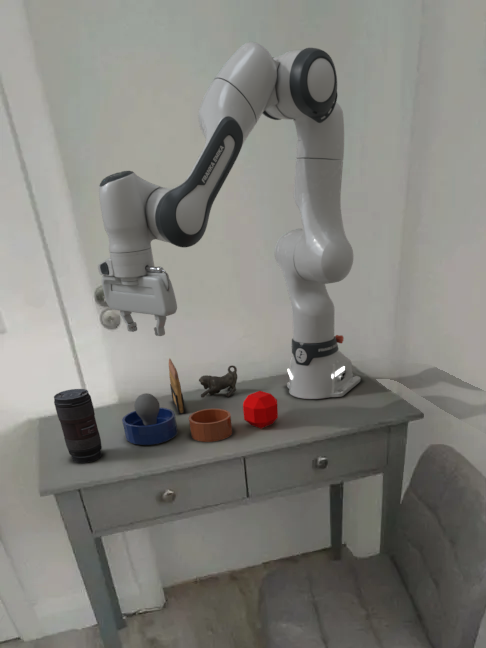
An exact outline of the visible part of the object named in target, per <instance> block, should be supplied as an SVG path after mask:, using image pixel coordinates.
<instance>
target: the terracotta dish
mask: <svg viewBox="0 0 486 648" xmlns="http://www.w3.org/2000/svg"><path fill="white" fill-rule="evenodd" d="M188 425H189V432H190V436H191V438H192V439H193V440H194V441H197V442H202V443H213V442H218V441H222V440H226V439H227V438H229V437H231V435H232V434H233V422H232V414H231V412H230V411H228V410H226V409H223V408H204V409H200V410H197V411H194V412H192V413H191V414H189V416H188Z"/></svg>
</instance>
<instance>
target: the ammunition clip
mask: <svg viewBox="0 0 486 648" xmlns="http://www.w3.org/2000/svg"><path fill="white" fill-rule="evenodd" d="M168 369H169V370H168V372H169V373H168V375H169V376H168V377H169V382H170V383H169V385H170V392H171V393H170V394H171V399H172V400H171V401H172V403H173V406H174V408H175V410H176V412H177V414H178V415H182V414H186V408H185V401H184V395H183V392H182V387H181V382H180V378H179V374H178V369H177V368H176V366H175V364H174V362H173V360H172V359H171V358H170V357H169V358H168Z"/></svg>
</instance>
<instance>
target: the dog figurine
mask: <svg viewBox="0 0 486 648" xmlns="http://www.w3.org/2000/svg"><path fill="white" fill-rule="evenodd" d="M231 368H233V371H232V370H231ZM198 382H199V384H200V385H201V386H203V389H204V390H205V391H203V393H201V394H200V398H202V399H203V398H205V396H207V395H208V396H213V395H217V394H220V393H221V391H222V390H226V391H228V392H226V394H225V396H226V397H230V396H232V395H233V394H235V392H237V387H236V384H237V382H238V369H237V366H235V365H229V366H228V367H227V373H226V374H224V375H222V376H217V375H207V374H206V375H201V377H200V378H199V379H198Z"/></svg>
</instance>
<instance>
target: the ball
mask: <svg viewBox="0 0 486 648" xmlns="http://www.w3.org/2000/svg"><path fill="white" fill-rule="evenodd" d="M242 403H243V404H242V410H243V421H245V422H246V423H248V424H249V425H250V426H252V427H255V428H258V429H261V430H262V429H264V428H266V427H269V426H272V425H273V424H274V422H276V420H277V419H278V418H279V410H278V399H277V398H276V397H275V396H274V395H272V394H271V392H270V393H269V392H267V391H262V390H258V391H256V392H252V393H249V394H247V396H246V398H244V400H243V402H242Z"/></svg>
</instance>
